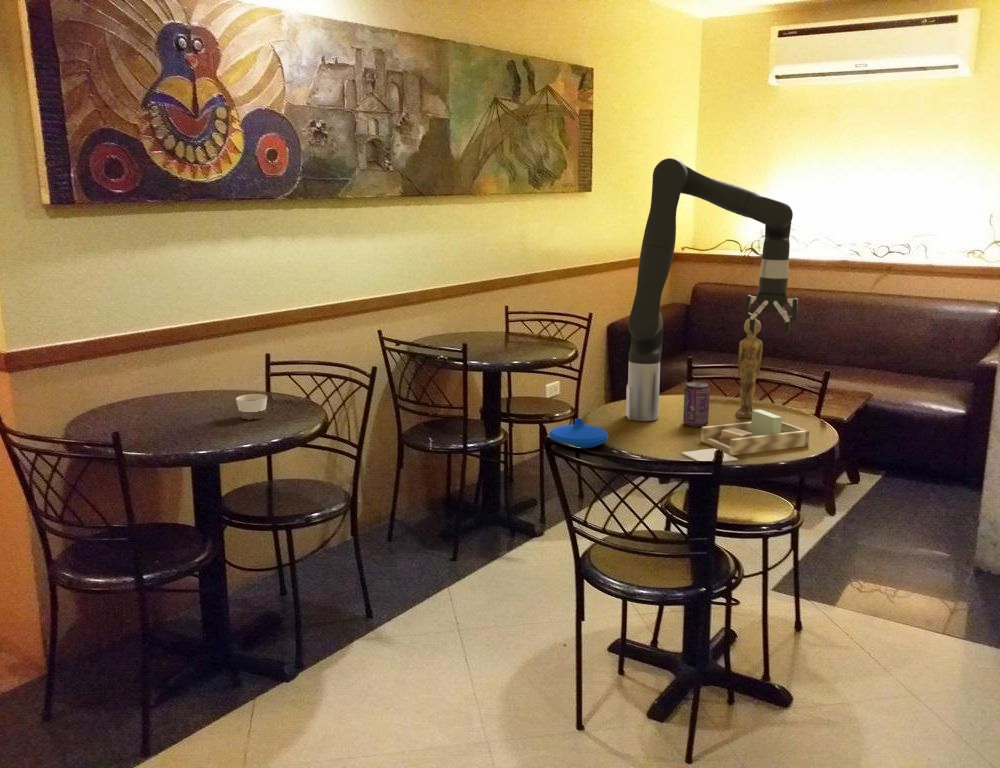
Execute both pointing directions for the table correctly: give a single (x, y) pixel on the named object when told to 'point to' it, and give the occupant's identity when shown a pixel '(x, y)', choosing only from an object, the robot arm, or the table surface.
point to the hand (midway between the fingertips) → (768, 333)
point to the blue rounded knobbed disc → (579, 434)
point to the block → (765, 423)
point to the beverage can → (696, 404)
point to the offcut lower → (724, 441)
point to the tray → (755, 438)
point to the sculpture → (749, 368)
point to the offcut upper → (734, 434)
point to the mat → (707, 455)
